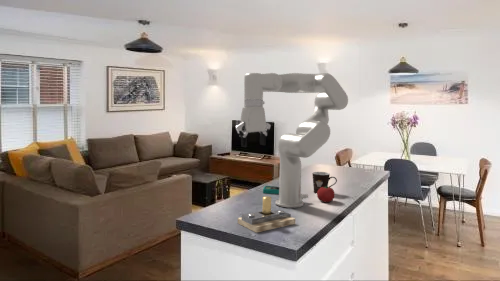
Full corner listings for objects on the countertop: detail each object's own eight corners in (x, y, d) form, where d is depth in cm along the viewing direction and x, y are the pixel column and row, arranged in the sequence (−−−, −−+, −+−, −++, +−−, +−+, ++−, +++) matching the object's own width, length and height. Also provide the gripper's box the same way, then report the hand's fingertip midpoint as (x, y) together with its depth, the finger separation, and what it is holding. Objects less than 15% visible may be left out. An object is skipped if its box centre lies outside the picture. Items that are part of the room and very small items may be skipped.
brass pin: (267, 221, 142) (267, 195, 141) (272, 223, 139) (273, 197, 138) (260, 223, 140) (261, 197, 139) (265, 225, 138) (266, 198, 137)
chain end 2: (279, 212, 147) (279, 208, 147) (290, 216, 142) (290, 212, 142) (253, 217, 140) (253, 213, 140) (263, 222, 135) (263, 218, 135)
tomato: (314, 199, 176) (314, 184, 175) (329, 198, 178) (329, 183, 178) (323, 204, 168) (323, 188, 167) (338, 202, 171) (339, 187, 170)
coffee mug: (308, 192, 190) (308, 173, 189) (318, 189, 196) (319, 171, 195) (327, 196, 181) (327, 176, 180) (337, 194, 187) (338, 174, 186)
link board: (275, 215, 150) (275, 210, 150) (295, 223, 140) (295, 218, 140) (237, 223, 140) (237, 218, 139) (256, 232, 130) (256, 227, 130)
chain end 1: (269, 214, 144) (269, 207, 144) (280, 219, 139) (280, 212, 139) (241, 219, 137) (241, 213, 137) (251, 224, 132) (252, 217, 132)
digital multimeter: (292, 195, 184) (292, 190, 184) (262, 194, 187) (262, 188, 186) (292, 192, 192) (293, 186, 191) (264, 190, 194) (264, 185, 193)
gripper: (264, 103, 159) (264, 143, 161) (230, 104, 149) (230, 146, 151) (275, 104, 153) (275, 145, 155) (241, 104, 143) (241, 148, 145)
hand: (253, 146), depth 153 cm, fingers open, 9 cm apart
